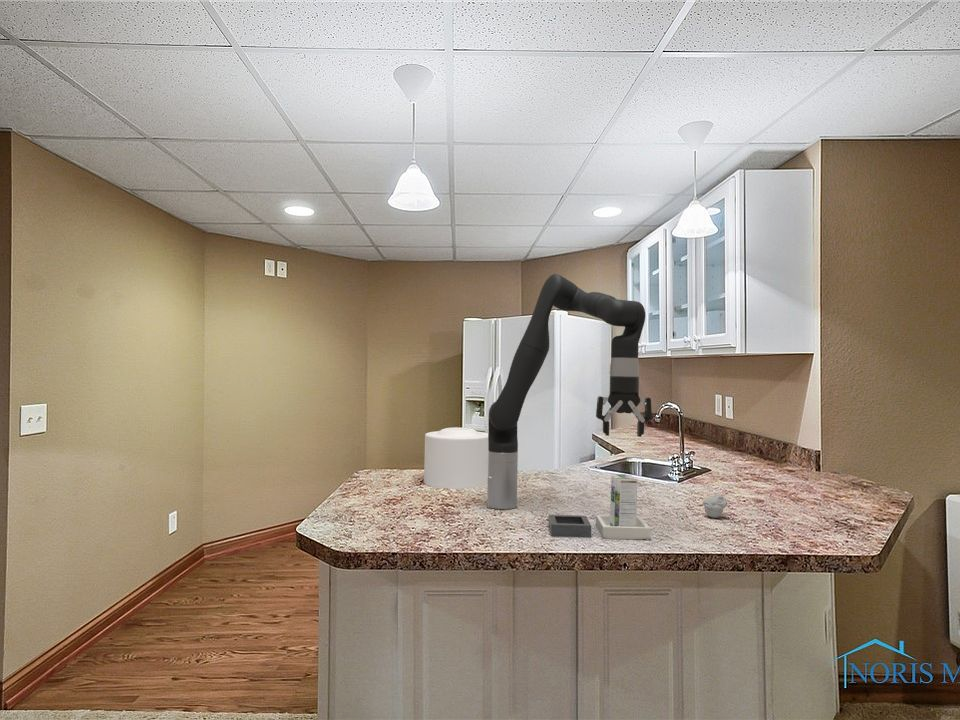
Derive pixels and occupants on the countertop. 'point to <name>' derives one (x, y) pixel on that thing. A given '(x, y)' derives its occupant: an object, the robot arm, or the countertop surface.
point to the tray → (622, 529)
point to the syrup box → (623, 500)
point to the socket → (569, 526)
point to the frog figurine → (715, 505)
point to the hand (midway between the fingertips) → (623, 435)
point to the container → (456, 458)
